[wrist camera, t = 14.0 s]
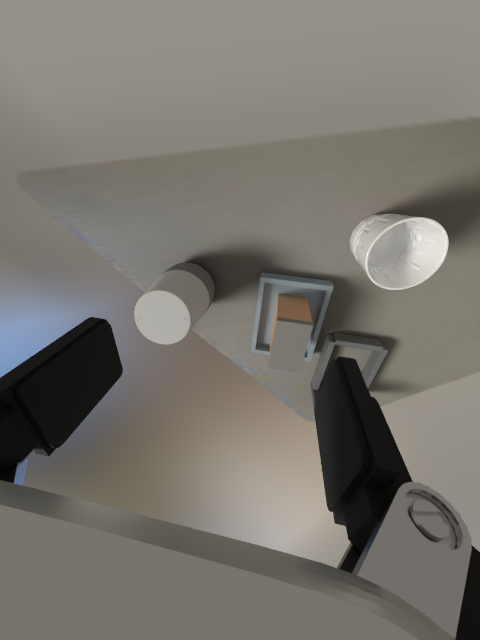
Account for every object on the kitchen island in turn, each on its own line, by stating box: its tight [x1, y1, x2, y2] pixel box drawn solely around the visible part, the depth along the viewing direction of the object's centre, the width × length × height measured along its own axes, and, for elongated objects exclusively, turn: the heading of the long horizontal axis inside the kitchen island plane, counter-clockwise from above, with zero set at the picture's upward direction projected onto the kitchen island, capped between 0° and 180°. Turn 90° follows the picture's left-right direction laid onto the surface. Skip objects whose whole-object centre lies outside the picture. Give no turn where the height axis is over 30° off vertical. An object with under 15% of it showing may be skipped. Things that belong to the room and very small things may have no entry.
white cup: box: [350, 214, 449, 290], centre depth 29 cm, size 8×8×10 cm
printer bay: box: [311, 333, 388, 409], centre depth 41 cm, size 10×14×10 cm
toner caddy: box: [268, 294, 313, 373], centre depth 37 cm, size 5×9×9 cm, turn 176°
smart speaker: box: [134, 263, 215, 344], centre depth 36 cm, size 10×9×14 cm
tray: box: [251, 272, 334, 362], centre depth 41 cm, size 12×16×2 cm
